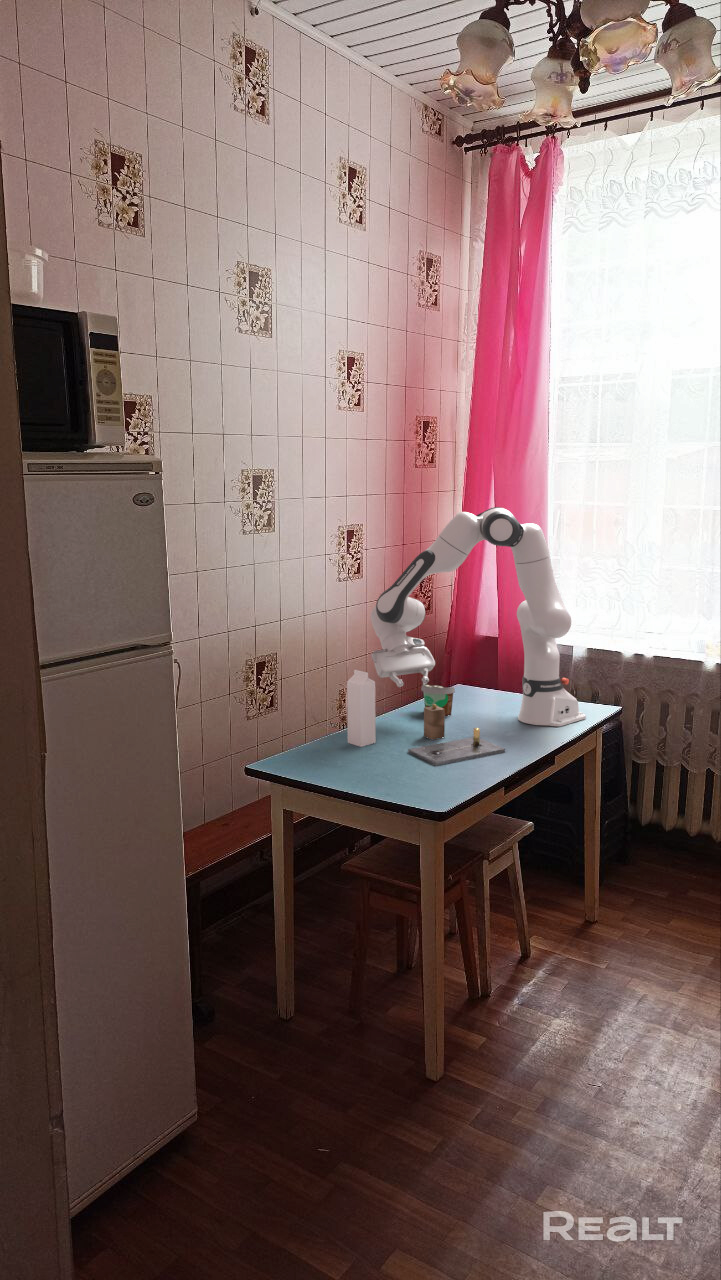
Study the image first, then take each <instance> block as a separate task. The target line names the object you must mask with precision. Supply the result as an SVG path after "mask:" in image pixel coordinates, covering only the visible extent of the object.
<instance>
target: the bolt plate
mask: <svg viewBox="0 0 721 1280" xmlns="http://www.w3.org/2000/svg"><path fill="white" fill-rule="evenodd" d="M480 731H481V728H480V727H474V728H473V732H472V733H473V737H467V738H462V739H461V738H460V739H456V740H449V741H445V742H440V743H435V744H430V745H424V746H423V745H422V746H418V747H413V748H408V749H407V750H408V752H407V753H408V754H410V755H413V756H414V757H416V758H418V759H421V760H422V761H425V762H427V763H428V764H430V765H433V766H434V767H438V766H443V765H447V763H448V764H452V762H453V763H457V761H458V762H462V760H463V761H467V760H466V759H468V760H472V759H471V758H473V759H477V757H478V758H482V757H488V756H492V755H497V754H502V753H505V752H506V748H504V747H501V746H499V745H497V744H495V743H492V742H490V741H487V740H485V739H482V738H480V736H481V734H480V733H481V732H480ZM487 755H488V756H487ZM442 764H443V765H442ZM437 765H438V766H437Z"/></svg>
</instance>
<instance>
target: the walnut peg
mask: <svg viewBox="0 0 721 1280" xmlns="http://www.w3.org/2000/svg"><path fill="white" fill-rule="evenodd" d="M445 720H446V719H445V709H443V708H441V707H438V706H436V704H432V707H426V708H425V707H423V737H424V736H425V737H424V738H427V737H428V738H427V739H429V738H430V739H429V740H431V739H435V740H438V739H437V738H440V739H443V738H442V737H444V738H445V732H446V731H445V728H446V727H445V726H446V724H445V723H446V721H445Z"/></svg>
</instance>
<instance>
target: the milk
mask: <svg viewBox="0 0 721 1280" xmlns="http://www.w3.org/2000/svg"><path fill="white" fill-rule="evenodd" d="M346 695H347V696H346V698H347V700H346V703H347V706H346V711H347V716H346V717H347V718H346V719H347V743H348V744H351V745H354V746H357V747H360V748H362V747H366V745H367V746H369V745H373V743H374V744H376V740H377V739H376V681H375V680H373V679H372V678H370V677H369V673H368V671H367V672H366V671H362V670H359V669H354V670H353V675H352V676H351V677H350V678H349V679H348V680H347V681H346Z"/></svg>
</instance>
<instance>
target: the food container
mask: <svg viewBox="0 0 721 1280" xmlns="http://www.w3.org/2000/svg"><path fill="white" fill-rule="evenodd" d="M455 689H456V688H455V687H454V686H450V687H449V686H448V687H445V686H442V685H438V684H437V685H435V684H428V683H423V682H422V685H421V691H422V692H423V701H424V708H426V707H432V704H436V706H438V707H441V708H443V709H445V716H446V717H449V716H448V715H450V716H452V709H453V700H454V694H455V693H456V690H455Z"/></svg>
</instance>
